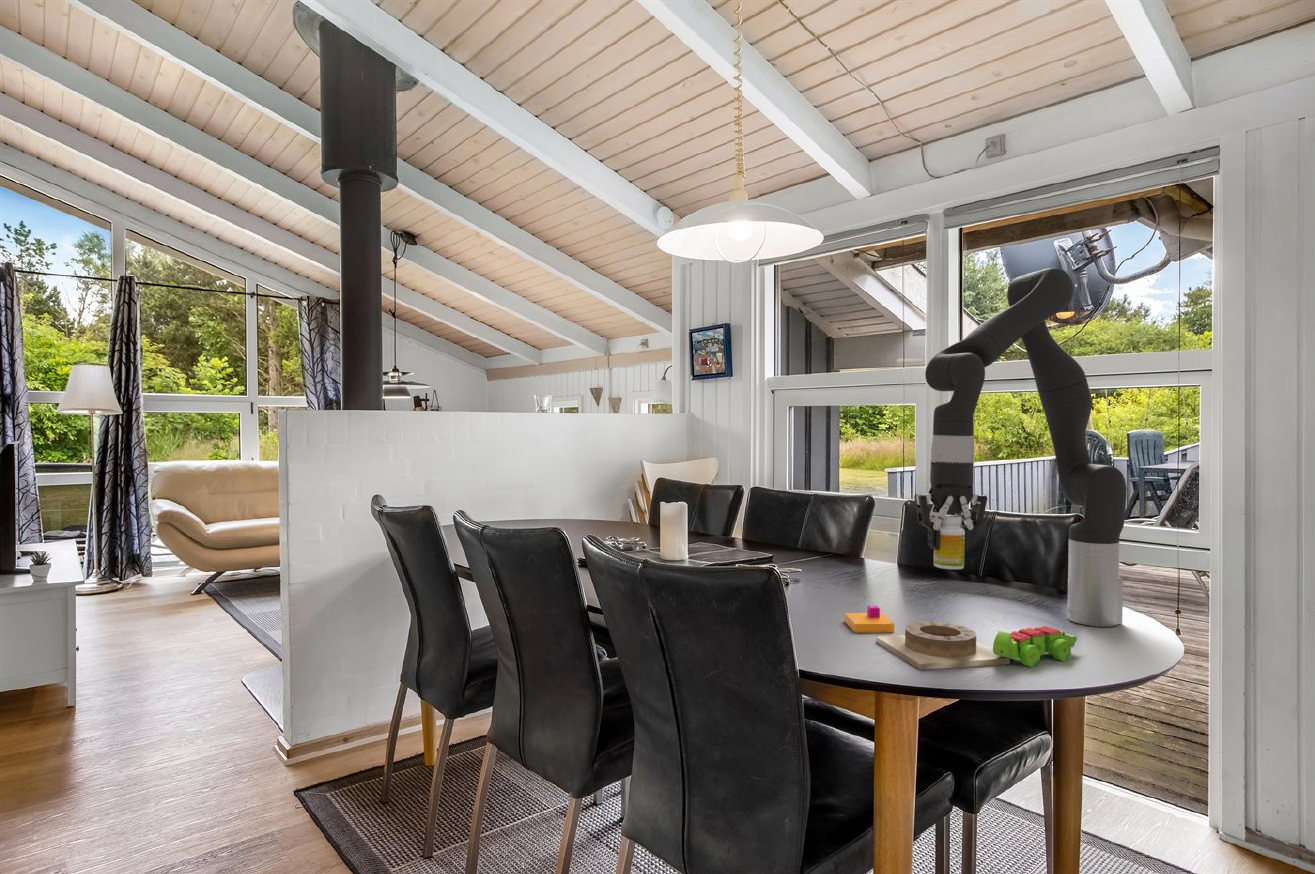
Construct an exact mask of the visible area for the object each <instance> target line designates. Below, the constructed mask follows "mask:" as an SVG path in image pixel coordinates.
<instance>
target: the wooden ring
mask: <svg viewBox="0 0 1315 874" xmlns="http://www.w3.org/2000/svg"><path fill="white" fill-rule="evenodd" d="M904 633H905V634H904V635H905V646H906V647H908V648H909V649H911V650H913V651H914V652H918V653H922V654H925V655H929V656H936V657H946V658H957V657H968V656H970V655H973V654H975V653H976V642H977V634H976V631H975V630H973V629H971V628H968V627H966V626H964V625H963V626H962V625H959V624H953V623H949V622H943V621H919V622H918V621H917V622H916V621H915V622H912V623H909V624H906V625H905V631H904Z"/></svg>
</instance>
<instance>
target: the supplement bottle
mask: <svg viewBox="0 0 1315 874" xmlns="http://www.w3.org/2000/svg"><path fill="white" fill-rule="evenodd" d="M960 524H961V516H955V514H954V515H953V514H946V516H945V518H944V519H943V520H942V522H941V524H940V527H939V529H938V530H940V544H939V550H934V549H933V566H934V567H936V568H939V569H944V570H962V569H964V567H965V531H964V529H963V528H962V527H961V526H960Z"/></svg>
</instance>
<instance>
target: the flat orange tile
mask: <svg viewBox="0 0 1315 874" xmlns="http://www.w3.org/2000/svg"><path fill="white" fill-rule="evenodd" d="M866 608H867V609H866V610H867V611H866V612H861V613H860V612H856V613H855V612H850V613H847V612H846V613H844V622H845V624H846V625H848V627H849V628H850V629H851V630H852V632H854V633H895V623H894V622H893V621H892V620H891V619H889V617H887V616H886V615H885V614H883V613H882V612H881V609H880V607H879V606H878V605H867V607H866Z"/></svg>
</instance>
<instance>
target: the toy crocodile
mask: <svg viewBox="0 0 1315 874" xmlns="http://www.w3.org/2000/svg"><path fill="white" fill-rule="evenodd" d="M1076 643H1077V636H1076V635H1074V634H1073V635H1072V634H1070V633H1065V631H1063V630H1060V629H1056V628H1052V627H1048V626H1044V625H1043V626H1038V627H1035V628H1031V627H1027V628H1020V629H1019V630H1018V631H1012V632H1010V633H1009V632H1007V631H1001V630H1000V631H998V632H997V634H996V635H995V638H994V640H993V644H992V645H993V646H992V650H993V653H994V654H996V655H999V656H1003V657H1007V658H1010V659H1011V660H1018V659H1019V661H1020V663H1021V664H1022V665H1023V666H1026V667H1028V668H1034V667H1036V666H1037V665H1038V664H1039V663H1040V660H1041V656H1044V655H1046V654H1049V655H1051V656H1052V658H1053V659H1055V660H1057V661H1061V662H1065V661H1067V660H1068V659H1069V658H1070V656H1071V653H1072V648H1074V647H1075V644H1076Z"/></svg>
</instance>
